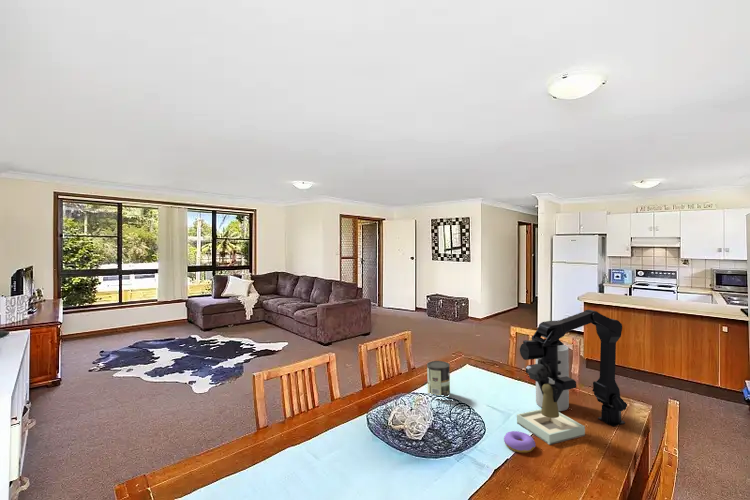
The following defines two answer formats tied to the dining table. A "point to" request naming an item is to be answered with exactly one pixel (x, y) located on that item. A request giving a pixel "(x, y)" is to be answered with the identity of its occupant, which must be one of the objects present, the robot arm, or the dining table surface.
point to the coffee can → (438, 378)
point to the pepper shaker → (549, 402)
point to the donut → (519, 441)
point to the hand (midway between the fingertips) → (549, 399)
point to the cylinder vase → (564, 369)
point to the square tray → (550, 426)
